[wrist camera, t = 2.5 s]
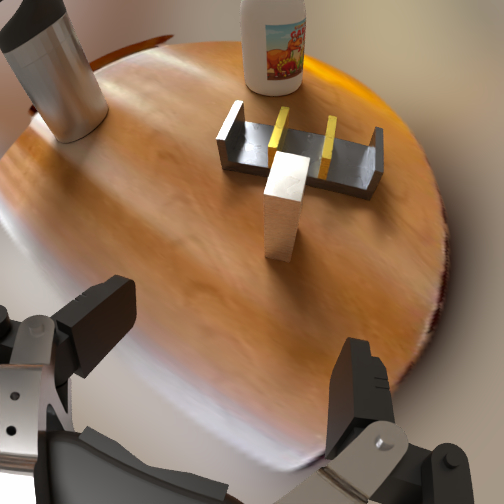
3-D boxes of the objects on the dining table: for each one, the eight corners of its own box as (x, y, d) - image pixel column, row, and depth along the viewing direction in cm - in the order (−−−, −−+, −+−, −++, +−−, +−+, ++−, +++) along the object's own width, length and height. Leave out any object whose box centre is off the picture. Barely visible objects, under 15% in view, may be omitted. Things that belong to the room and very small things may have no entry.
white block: (274, 222, 28) (276, 151, 19) (298, 227, 27) (310, 157, 18) (264, 257, 26) (263, 193, 18) (289, 262, 26) (300, 201, 17)
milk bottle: (244, 98, 35) (231, -48, 17) (245, 69, 38) (235, -55, 20) (304, 98, 35) (315, -47, 16) (298, 68, 38) (303, -54, 19)
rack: (239, 130, 33) (235, 100, 28) (372, 157, 30) (382, 128, 26) (222, 169, 30) (216, 138, 26) (369, 200, 28) (383, 172, 24)
